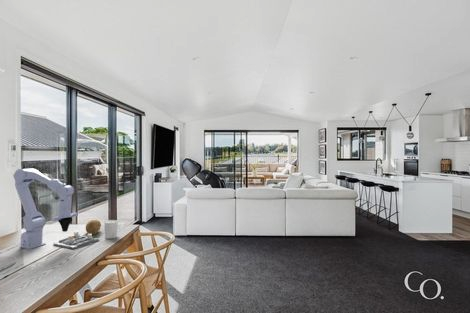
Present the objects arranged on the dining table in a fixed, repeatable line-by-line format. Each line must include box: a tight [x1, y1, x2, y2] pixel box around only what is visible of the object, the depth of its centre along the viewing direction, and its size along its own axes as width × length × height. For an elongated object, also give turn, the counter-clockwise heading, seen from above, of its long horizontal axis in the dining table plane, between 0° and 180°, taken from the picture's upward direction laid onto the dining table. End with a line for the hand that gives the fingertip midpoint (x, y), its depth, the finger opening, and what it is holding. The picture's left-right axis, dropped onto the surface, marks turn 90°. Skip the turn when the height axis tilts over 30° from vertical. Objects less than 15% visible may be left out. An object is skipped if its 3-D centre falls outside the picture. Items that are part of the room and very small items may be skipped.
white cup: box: [104, 219, 119, 239], centre depth 174 cm, size 8×8×10 cm
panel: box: [53, 231, 100, 250], centre depth 162 cm, size 17×16×5 cm
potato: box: [85, 219, 102, 236], centre depth 181 cm, size 9×16×9 cm, turn 17°
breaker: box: [67, 235, 75, 243], centre depth 158 cm, size 3×2×4 cm
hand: (64, 231), depth 154 cm, fingers closed
